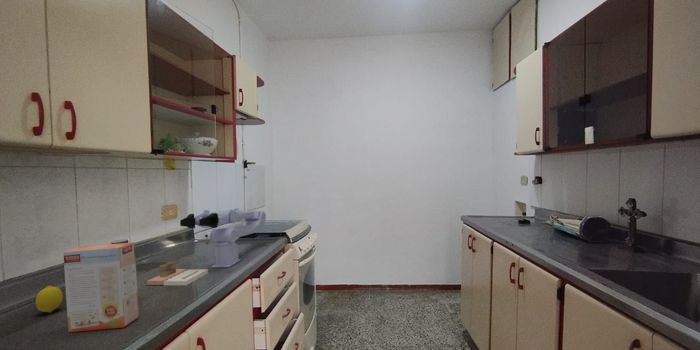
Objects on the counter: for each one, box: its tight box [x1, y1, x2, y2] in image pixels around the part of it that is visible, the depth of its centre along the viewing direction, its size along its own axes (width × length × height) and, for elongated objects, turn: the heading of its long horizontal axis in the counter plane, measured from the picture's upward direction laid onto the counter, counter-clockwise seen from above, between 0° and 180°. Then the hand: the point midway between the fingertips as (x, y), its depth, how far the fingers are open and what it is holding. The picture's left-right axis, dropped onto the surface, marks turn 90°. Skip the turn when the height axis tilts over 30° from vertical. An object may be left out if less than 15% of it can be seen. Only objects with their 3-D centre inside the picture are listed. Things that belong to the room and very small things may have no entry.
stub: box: [146, 261, 188, 286], centre depth 107 cm, size 12×6×6 cm, turn 172°
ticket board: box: [163, 268, 209, 286], centre depth 106 cm, size 12×9×2 cm
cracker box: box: [62, 242, 140, 333], centre depth 74 cm, size 14×6×21 cm, turn 92°
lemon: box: [35, 285, 64, 314], centre depth 84 cm, size 6×6×8 cm
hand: (190, 222), depth 102 cm, fingers open, 7 cm apart
